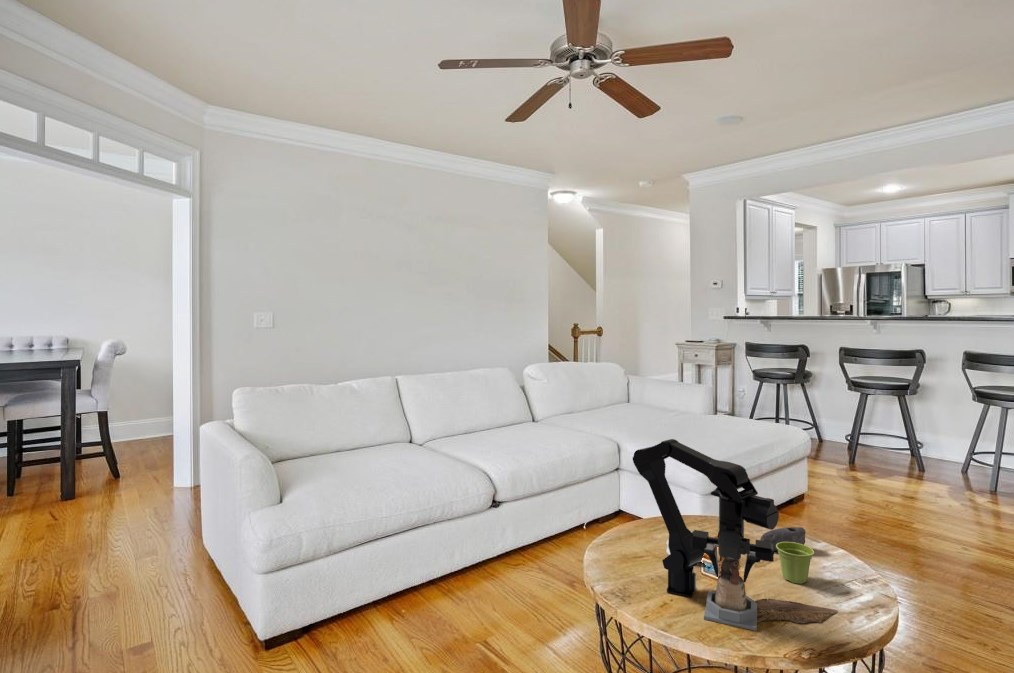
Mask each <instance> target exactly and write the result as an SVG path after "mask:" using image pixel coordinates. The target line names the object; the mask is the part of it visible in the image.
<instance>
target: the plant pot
mask: <svg viewBox="0 0 1014 673" xmlns="http://www.w3.org/2000/svg"><path fill="white" fill-rule="evenodd" d="M776 548H777V549H778V550H777V553H778V555H779V560H780V567H781V575H782V579H784V580H786V581H789V582H790V583H793V584H800V585H802V584H804V583H807V582H808V577H809V573H810V572H809V571H810V565H811V560H812V558H813V556H814V555H815V551H814V549H813V548H811V547H810V546H809V545H806V544H804V545H803V544H799V543H794V542H780V543H777V544H776Z"/></svg>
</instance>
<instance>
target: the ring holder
mask: <svg viewBox="0 0 1014 673" xmlns="http://www.w3.org/2000/svg"><path fill="white" fill-rule="evenodd" d="M715 596H716V590H712V591H708V592H707V597H706V603H705V608H704V613H703V620H707V621H709V622H714V623H720V624H723V625H729V626H733V627H737V628H741V629H746V630H750V631H755V632H756V631H758V630H757V628H758V624H757V623H758V622H757V604H756V602H755V601H756V600H754V599H753V598H751V597H749V596H748V595H746V601H747V607H746V610H744V611H739V612H738V611H733V610H728V609H724V608H721V607H719V606H718V605H717V604H716V602H715Z"/></svg>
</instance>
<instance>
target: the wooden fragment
mask: <svg viewBox="0 0 1014 673" xmlns="http://www.w3.org/2000/svg"><path fill="white" fill-rule="evenodd" d="M754 601H755V602H756V604H757V623H762V622H764V621H765V622H766V621H768V622H769V621H774V622H775V621H777V622H780V621H784V622H785V621H788V622H791V623H796V624H808V623H818V624H820V623H821V624H822V623H824V621H826V620H827V619H828V618H830V617H831V616H833V615H837V613H838V610H837V609H832V608H827V607H823V606H822V607H821V606H815V605H811V604H810V605H809V604H806V603H802V602H797V601H796V602H795V601H791V600H789V601H788V600H782V599H775V598H761V599H757V600H754Z"/></svg>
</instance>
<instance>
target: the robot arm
mask: <svg viewBox="0 0 1014 673" xmlns="http://www.w3.org/2000/svg"><path fill="white" fill-rule="evenodd" d="M668 458H671V459H673V460H675V461H677V462H679V463H681V464H683V465H685V466H687V467H688V468H691V469H693V470H695V471H697V472H698V473H701V474H703V475H704V476H705V477H707V479H708V481H710V483H712V485H714V486H716V488H715V489H713V491H710V495H711V496H714V497H717V498H718V533H717V537H713V536H712V537H711V536H709V535H710V534H709V531H704V530H698V529H693V531H691V530H689V528H688V527H687V525H686V523H685V520H684V517H683V516H682V513H681V511H680V509H679V506H678V504H677V501H676V500H675V497H674V494H673V492H672V490H671V487H670V485H669V482H668V480H667V478H666V467H667V466H666V461H665V460H666V459H668ZM632 463H633V465H634V467H635V469H636V470H637V472H638V473H639V475H640V476H641V477H642V478H643V479H644V480H646V481H647V483H648V484H649V487H650V490H651V492H652V496H653V497H654V500H655V502H656V505H657V507H658V509H659V512H660V514H661V517H662V519H663V522H664V524H665V527H666V530H667V532H668V539H669V544H668V546H669V550H670V555H667V556H666V557H665V558H663V559H662V565H663V569H665V570H667V587H666V592H667V593H669V594H673V595H678V596H684V597H688V598H693V595H694V593H695V592H696V589H697V585H696V584H697V579H696V578H697V573H695V571H694V569H695V567H698V565H699V563H700V562H699V561H701V560H702V558H703V555H704V553H706V554H707V555H708V556H709V558H708V559H709V560H710V562H711V564H712V567H713V570H714V573H715V576H716V578H718V577H719V576H720V575H719V574H720V573H719V572H720V570H719V569H720V567H719V557H718V555H719V556H720V557H722V558H733V559H737V561H738V560H740V559H741V558H742V556H746V557H745V562H744V563H745V565H744V572H743V581H744V583H746V582H747V579H748V577H749V575H750V571H751V570H752V568H753V566H754V564H756V563H758V564H759V563H760V562H761V561H763V562H764V561H765V562H769V563H772V562H774V558H775V556H774V554H775V553H774V549H773V544H772V543H771V542H768V541H762V540H760V539H755V543H751V539H750V538H747V537H745V522H746V523H747V524H748V523H749V524H751V525H753V526H757V527H761V528H764V529H766V530H767V529H768V530H769V531H771V530H775V529H776V527H777V525H778V522H779V516H780V513H779V510H778V507H777V505H775V500H774V499H773V498H769V497H762V496H759V495H758V494H759V493H758V491H757V488H755V486H754V484H753V483H752V481H751V479H750V478H749V474H748V472H747V470H746V468H745V467H744V466H742V465H740V464H737V463H734V462H731V461H725V460H718V459H714V458H713V457H710V456H708V455H706V454H704V453H701V452H700V451H697V450H695V449H694V448H691V447H689V446H687V445H685V444H683V443H681V442H679V441H678V440H677V439H675V438H670V439H666V440H663V441H662V440H661V442H660V443H658V444H656V445H653V446H649V447H644V448H640V449H637V450H635V451H634V452H633V456H632ZM739 489H742V490H739ZM717 548H718V549H717Z"/></svg>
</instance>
